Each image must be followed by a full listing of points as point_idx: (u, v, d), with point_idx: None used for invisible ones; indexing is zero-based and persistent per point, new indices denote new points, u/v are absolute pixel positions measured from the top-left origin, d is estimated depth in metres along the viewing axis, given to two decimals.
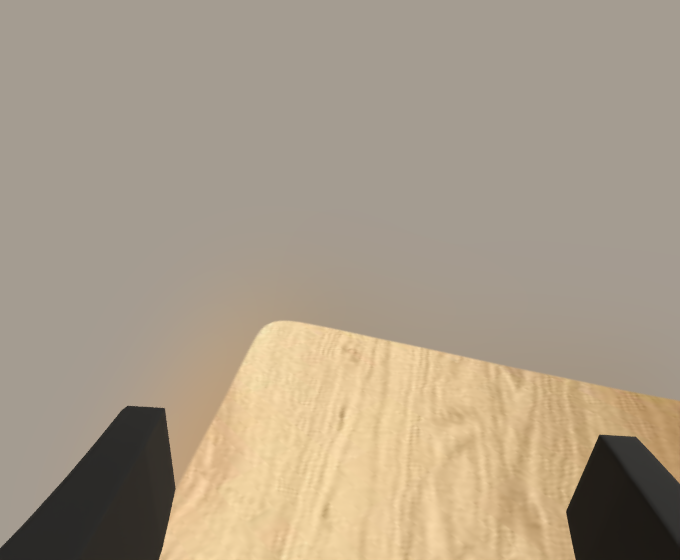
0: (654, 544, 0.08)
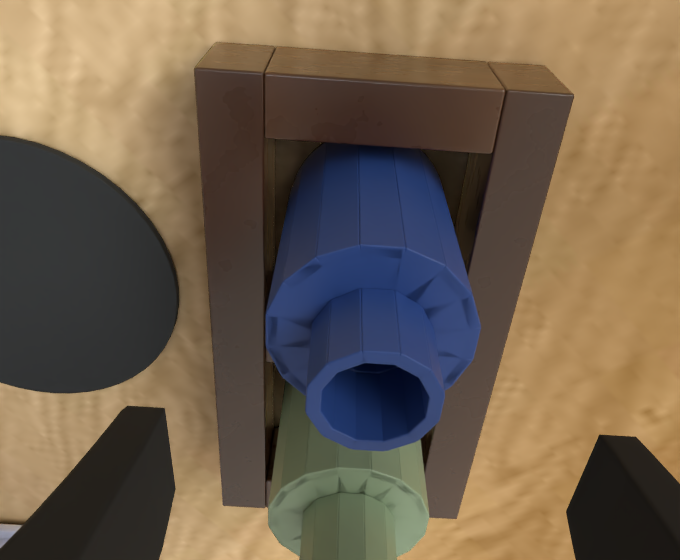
0: (654, 544, 0.08)
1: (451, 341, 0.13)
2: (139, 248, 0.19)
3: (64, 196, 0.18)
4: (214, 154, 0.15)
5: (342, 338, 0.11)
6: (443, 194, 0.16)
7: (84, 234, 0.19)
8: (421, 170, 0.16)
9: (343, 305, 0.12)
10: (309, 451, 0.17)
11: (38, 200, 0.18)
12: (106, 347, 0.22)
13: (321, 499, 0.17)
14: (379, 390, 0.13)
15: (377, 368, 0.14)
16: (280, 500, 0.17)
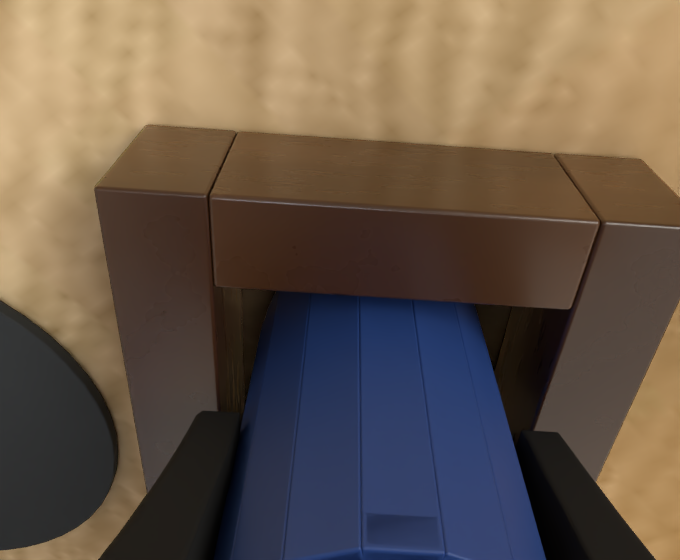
0: (560, 539, 0.08)
1: None
2: (56, 391, 0.14)
3: None
4: (136, 309, 0.10)
5: None
6: (486, 350, 0.11)
7: None
8: (454, 320, 0.11)
9: None
10: None
11: None
12: (24, 503, 0.16)
13: None
14: None
15: None
16: None
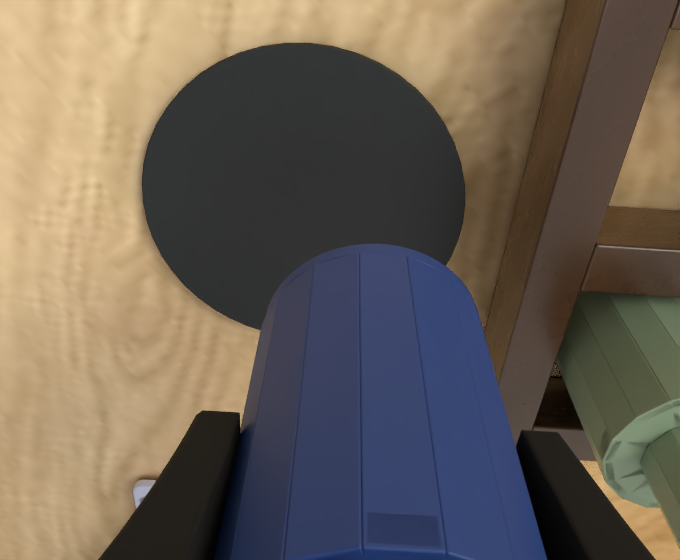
0: (560, 539, 0.08)
1: None
2: (437, 172, 0.18)
3: (374, 113, 0.17)
4: (610, 47, 0.14)
5: None
6: (486, 349, 0.11)
7: (383, 157, 0.18)
8: (455, 319, 0.10)
9: None
10: (659, 379, 0.16)
11: (344, 117, 0.17)
12: None
13: (678, 429, 0.16)
14: None
15: None
16: (629, 431, 0.16)
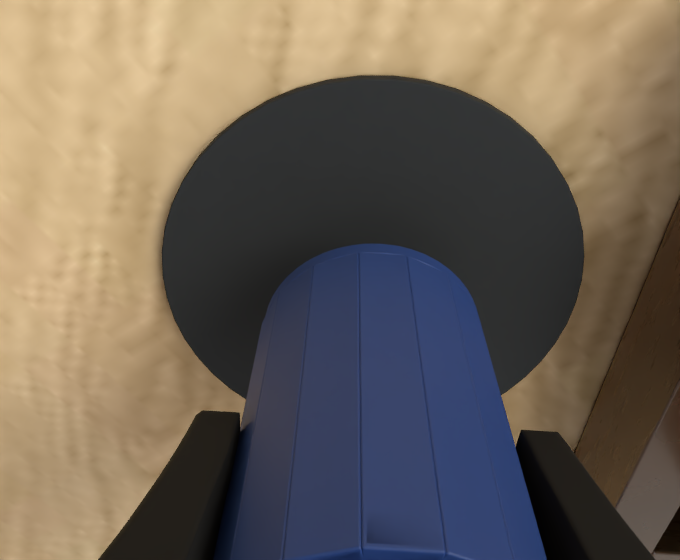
0: (560, 539, 0.08)
1: None
2: (550, 242, 0.14)
3: (474, 168, 0.13)
4: None
5: None
6: (486, 349, 0.11)
7: (481, 223, 0.14)
8: (454, 319, 0.10)
9: None
10: None
11: (434, 173, 0.13)
12: None
13: None
14: None
15: None
16: None
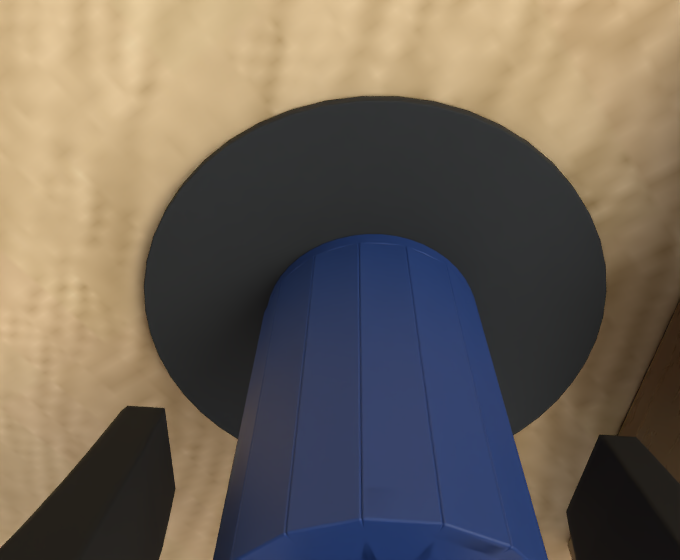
0: (654, 544, 0.08)
1: None
2: (570, 276, 0.13)
3: (487, 197, 0.12)
4: None
5: None
6: (483, 336, 0.11)
7: (495, 255, 0.12)
8: (452, 306, 0.11)
9: None
10: None
11: (443, 203, 0.12)
12: None
13: None
14: None
15: None
16: None
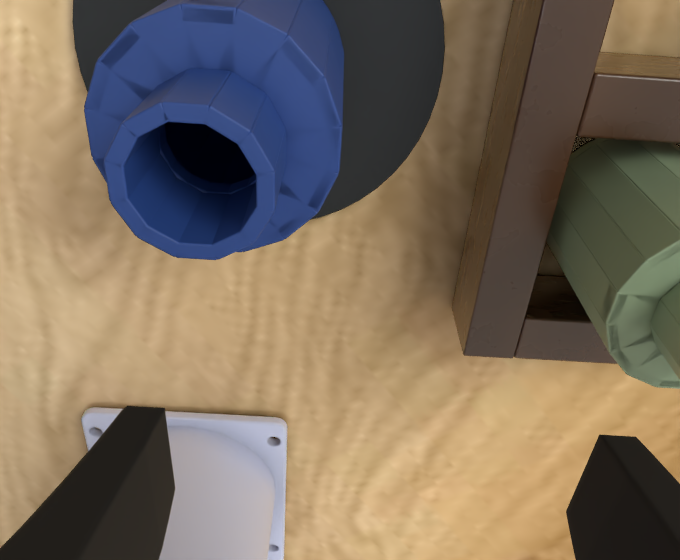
0: (654, 544, 0.08)
1: (310, 147, 0.11)
2: (412, 6, 0.16)
3: None
4: None
5: (148, 102, 0.09)
6: (329, 24, 0.14)
7: None
8: None
9: (166, 84, 0.10)
10: (672, 219, 0.14)
11: None
12: None
13: None
14: (224, 205, 0.11)
15: (230, 189, 0.12)
16: (637, 281, 0.14)
